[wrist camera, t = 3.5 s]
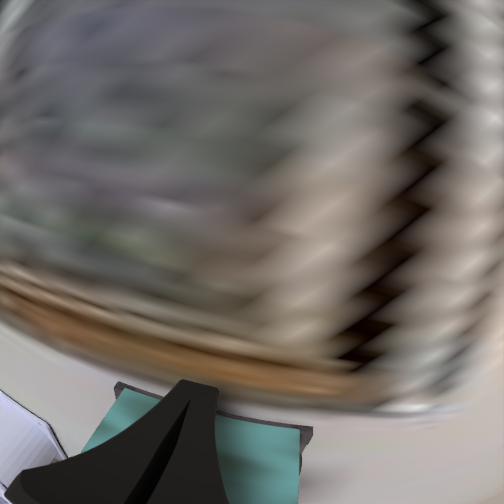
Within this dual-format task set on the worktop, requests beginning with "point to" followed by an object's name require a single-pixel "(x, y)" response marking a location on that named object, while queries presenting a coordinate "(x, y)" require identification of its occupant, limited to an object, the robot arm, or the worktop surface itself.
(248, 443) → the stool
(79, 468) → the robot arm
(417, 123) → the worktop surface
